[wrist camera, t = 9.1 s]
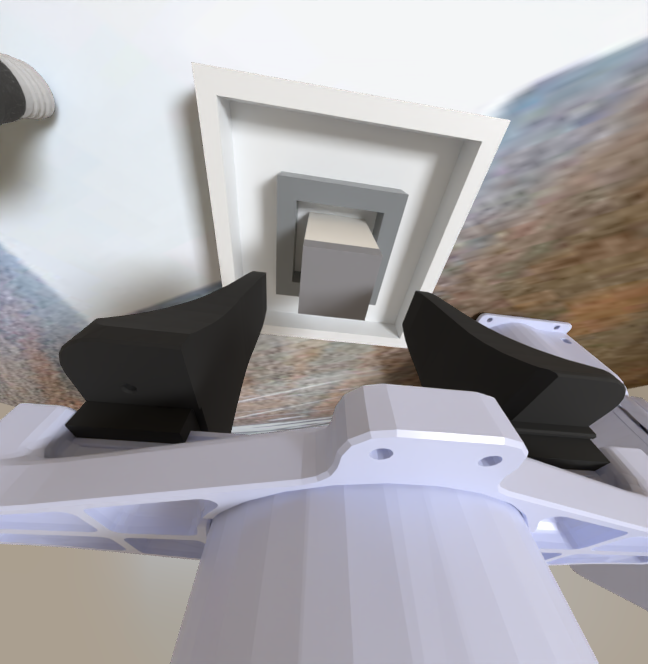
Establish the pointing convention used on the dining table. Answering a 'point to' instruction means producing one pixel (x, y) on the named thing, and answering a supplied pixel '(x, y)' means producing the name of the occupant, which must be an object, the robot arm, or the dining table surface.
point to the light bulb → (23, 92)
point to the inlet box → (336, 188)
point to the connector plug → (338, 267)
